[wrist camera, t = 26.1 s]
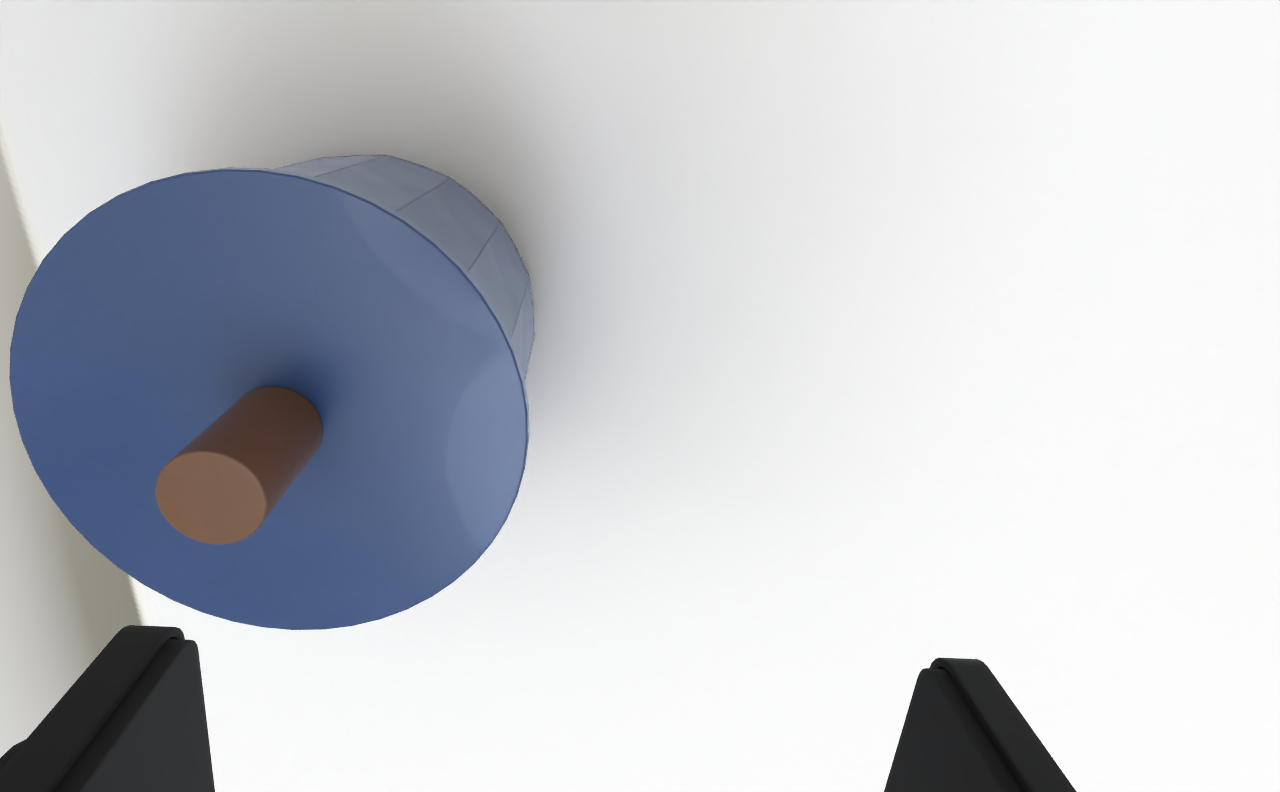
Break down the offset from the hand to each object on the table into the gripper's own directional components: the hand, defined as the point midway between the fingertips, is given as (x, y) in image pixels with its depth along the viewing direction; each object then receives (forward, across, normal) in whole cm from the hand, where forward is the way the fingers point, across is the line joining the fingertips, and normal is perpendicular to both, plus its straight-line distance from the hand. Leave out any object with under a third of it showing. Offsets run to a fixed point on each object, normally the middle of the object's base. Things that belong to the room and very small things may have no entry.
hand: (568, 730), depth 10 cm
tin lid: (+15, +9, +2) cm, 17 cm away
